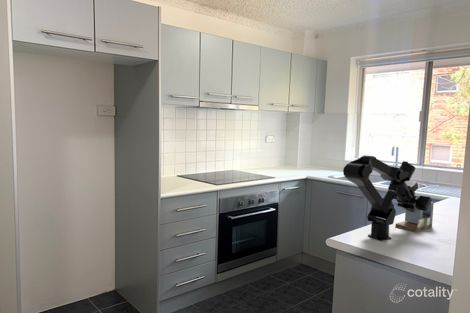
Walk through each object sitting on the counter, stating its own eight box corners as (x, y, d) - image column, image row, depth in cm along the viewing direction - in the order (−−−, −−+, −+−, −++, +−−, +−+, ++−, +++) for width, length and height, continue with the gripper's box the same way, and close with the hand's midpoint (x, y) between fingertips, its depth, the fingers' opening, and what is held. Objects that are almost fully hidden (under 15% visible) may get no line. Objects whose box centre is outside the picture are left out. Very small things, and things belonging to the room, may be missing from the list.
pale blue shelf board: (425, 226, 153) (427, 205, 152) (404, 221, 161) (406, 201, 160) (430, 224, 156) (431, 204, 155) (409, 220, 163) (410, 200, 162)
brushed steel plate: (430, 224, 158) (431, 203, 157) (410, 219, 165) (411, 199, 165) (432, 223, 159) (433, 202, 158) (412, 218, 167) (413, 198, 166)
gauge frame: (416, 232, 151) (416, 221, 150) (395, 226, 158) (395, 216, 158) (432, 226, 159) (433, 216, 159) (412, 222, 167) (412, 212, 166)
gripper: (431, 177, 145) (442, 201, 153) (388, 172, 160) (400, 193, 168) (420, 198, 141) (431, 221, 149) (377, 191, 156) (390, 212, 164)
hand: (412, 211), depth 157 cm, fingers closed
